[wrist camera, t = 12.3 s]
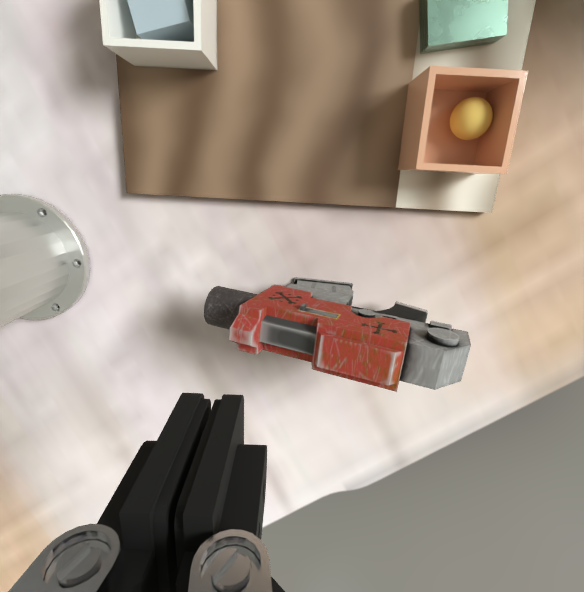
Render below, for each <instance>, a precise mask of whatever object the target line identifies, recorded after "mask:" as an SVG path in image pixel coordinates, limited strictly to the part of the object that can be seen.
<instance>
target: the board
mask: <svg viewBox="0 0 584 592" xmlns="http://www.w3.org/2000/svg"><path fill="white" fill-rule="evenodd" d="M535 2H536V0H508V11H507V35H506V36H504V37H503V38H501V39H500V40H498V41H497V42H495V43H493V44H486V45H479V46H472V47H465V48H458V49H451V50H444V51H437V52H430V53H423V54H420V14H419V0H217V70H200V69H182V68H163V67H144V66H134V65H132V64H131V63H129V62H128V61H126V60H125V59H123V58H122V57H120V56H119V55H117V54H116V57H117V70H118V83H119V96H120V109H121V122H122V135H123V148H124V162H125V175H126V188H127V193H134V194H152V195H171V196H190V197H208V198H227V199H245V200H264V201H283V202H301V203H320V204H338V205H357V206H376V207H394V208H413V209H432V210H451V211H469V212H488V213H492V212H493V207H494V202H495V197H496V192H497V187H498V182H499V178H500V174H466V173H446V172H426V171H406V170H398V165H399V157H400V149H401V141H402V133H403V125H404V117H405V109H406V101H407V93H408V85H409V83H410V82H411V81H412V80H413V79H414V78H416V77H417V76H418V75H419V74H421V73H422V72H423V71H424V70H426V69H427V68H428V67H429V66H446V67H465V68H484V69H504V70H522V66H523V61H524V56H525V51H526V46H527V41H528V36H529V31H530V27H531V22H532V17H533V12H534V7H535Z"/></svg>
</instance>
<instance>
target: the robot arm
mask: <svg viewBox="0 0 584 592" xmlns="http://www.w3.org/2000/svg"><path fill="white" fill-rule="evenodd" d="M80 261H81V263H80ZM89 274H90V262H89V256H88V252H87V248H86V246H85V243H84V241H83V239H82V237H81V235H80V233H79V232H78V230H77V229H76V227H75V226H74V225H73V223H72V222H71V221H70V220H69V219H68V218H67V217H66V216H65V215H64V214H63V213H61V212H60V211H59V210H58V209H56V208H55V207H54V206H52V205H50V204H48V203H46V202H44V201H43V200H40V199H37V198H34V197H31V196H26V195H20V194H5V195H0V327H2V326H4V325H6V324H8V323H10V322H12V321H13V320H15V319H17V318H23V319H30V320H40V319H47V318H51V317H55V316H57V315H59V314H61V313H63V312H65V311H66V310H68V309H70V308H71V307H72V306H74V305H75V304H76V303H77V302H78V301H79V300H80V298H81V297H82V295H83V293H84V292H85V290H86V287H87V284H88V281H89ZM266 470H267V445H244V397H243V395H225V394H224V395H223V396H222V399H221V400H218V399H216V400H215V401H214V404H213V407H212V409H211V401H210V399H204V395H203V394H200V393H182V394H181V396H180V398H179V400H178V402H177V404H176V405H175V407H174V409H173V411H172V413H171V415H170V417H169V419H168V421H167V423H166V425H165V426H164V428H163V430H162V432H161V434H160V436H159V438H158V440H157V441H146V442H144V443H143V445H142V446H141V447H140V449H139V451H138V453H137V454H136V456H135V458H134V460H133V461H132V463H131V465H130V467H129V468H128V470H127V472H126V474H125V475H124V477H123V479H122V481H121V482H120V484H119V486H118V488H117V489H116V491H115V493H114V495H113V496H112V498H111V500H110V502H109V503H108V505H107V507H106V509H105V510H104V512H103V514H102V516H101V517H100V519H99V521H98V523H97V524H88V525H83V526H79V527H76V528H74V529H72V530H69V531H67V532H65V533H64V534H62V535H61V536H59V537H58V538H56V539H55V540H53V541H52V542H51V543H50V544H49V545H48V546H47V547H46V548H45V549H44V550H43V551H42V552H41V553H40V555H39V556H38V557H37V558H36V559H35V560H34V562H33V563H32V564H31V565H30V566H29V568H28V569H27V570H26V571H25V572H24V574H23V575H22V576H21V577H20V578H19V580H18V581H17V582H16V583H15V584H14V585H13V587H12V588H11V589H10V590H9V591H8V592H285V591H284V590H283V589H282V588H281V587H280V586H279V585H278V583H277V582H276V581H275V580H274V579H273V578H272V577H271V571H270V560H269V556H268V552H267V548H266V547H265V545H264V544H263V542H262V541H261V534H262V523H263V513H264V503H265V490H266Z"/></svg>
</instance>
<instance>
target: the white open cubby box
mask: <svg viewBox="0 0 584 592" xmlns="http://www.w3.org/2000/svg"><path fill="white" fill-rule="evenodd" d="M99 2H100V14H101V26H102V38H103V45H104V46H105V47H107V48H108V49H110V50H111V51H113V52H114V53H116V54H117V55H119V56H120V57H122V58H123V59H125V60H126V61H128V62H129V63H131V64H132V65H134V66H144V67H163V68H182V69H200V70H217V0H193V8H194V42H186V41H168V40H149V39H142V38H141V37H139V36H138V35H137V33H136V29H135V26H134V22H133V19H132V15H131V12H130V8H129V5H128V1H127V0H99Z"/></svg>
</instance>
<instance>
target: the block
mask: <svg viewBox="0 0 584 592" xmlns="http://www.w3.org/2000/svg"><path fill="white" fill-rule="evenodd" d="M127 1H128V5H129V8H130V12H131V15H132V19H133V22H134V26H135V29H136V33H137V35H138V36H139V37H141V38H142V39H149V40H168V41H186V42H194V8H193V0H127Z"/></svg>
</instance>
